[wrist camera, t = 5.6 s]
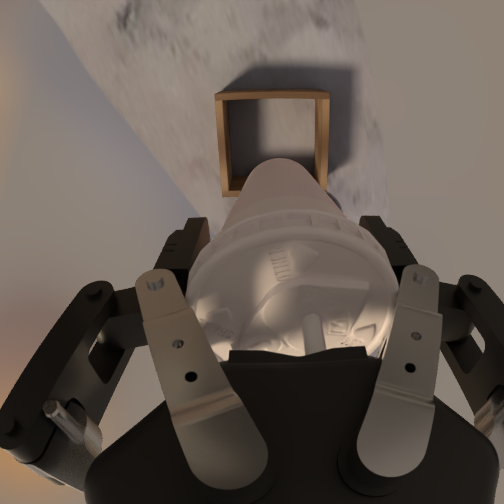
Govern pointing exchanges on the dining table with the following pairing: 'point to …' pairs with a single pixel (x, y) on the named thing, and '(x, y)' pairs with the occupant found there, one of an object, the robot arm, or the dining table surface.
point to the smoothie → (290, 272)
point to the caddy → (322, 98)
